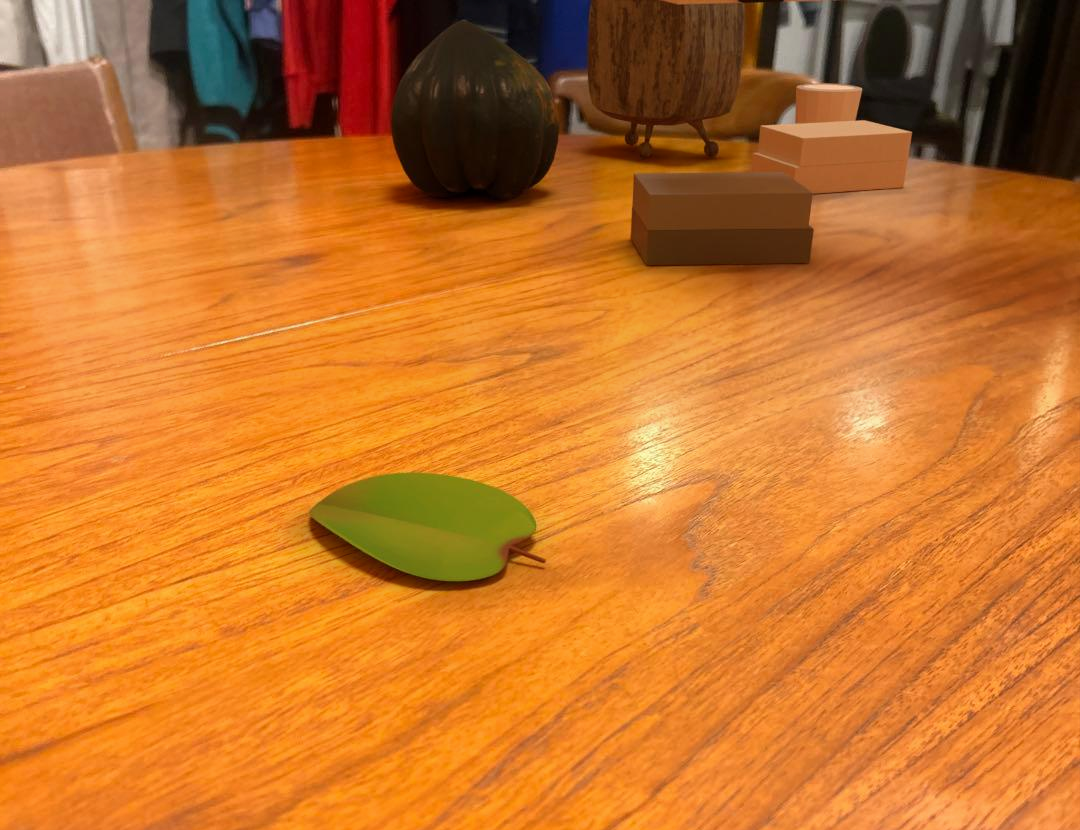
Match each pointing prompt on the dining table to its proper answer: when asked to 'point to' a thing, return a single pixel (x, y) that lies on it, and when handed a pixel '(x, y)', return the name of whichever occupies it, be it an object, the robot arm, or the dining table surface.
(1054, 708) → the dining table surface
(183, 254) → the dining table surface
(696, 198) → the brown box
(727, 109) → the tabletop clock
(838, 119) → the tapered cup
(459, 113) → the squash
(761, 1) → the robot arm
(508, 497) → the decorative leaf
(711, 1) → the tan box
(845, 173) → the orange lidded box
